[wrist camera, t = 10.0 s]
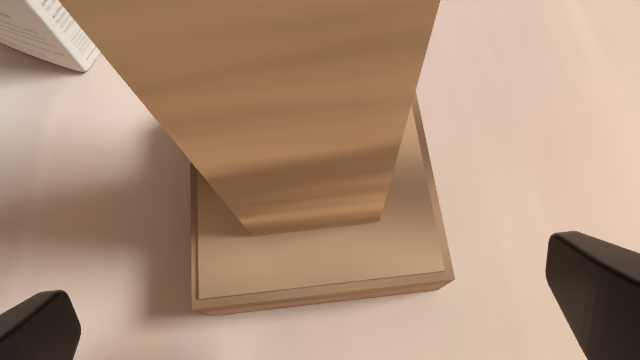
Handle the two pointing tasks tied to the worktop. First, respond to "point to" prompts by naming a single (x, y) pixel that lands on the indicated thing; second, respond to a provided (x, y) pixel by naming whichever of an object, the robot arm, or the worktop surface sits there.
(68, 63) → the skincare box
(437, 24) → the worktop surface
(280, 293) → the square wooden tray
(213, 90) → the pillar block
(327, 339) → the worktop surface
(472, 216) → the worktop surface
